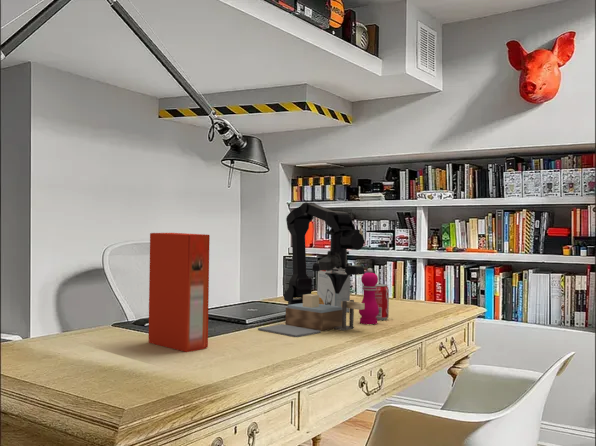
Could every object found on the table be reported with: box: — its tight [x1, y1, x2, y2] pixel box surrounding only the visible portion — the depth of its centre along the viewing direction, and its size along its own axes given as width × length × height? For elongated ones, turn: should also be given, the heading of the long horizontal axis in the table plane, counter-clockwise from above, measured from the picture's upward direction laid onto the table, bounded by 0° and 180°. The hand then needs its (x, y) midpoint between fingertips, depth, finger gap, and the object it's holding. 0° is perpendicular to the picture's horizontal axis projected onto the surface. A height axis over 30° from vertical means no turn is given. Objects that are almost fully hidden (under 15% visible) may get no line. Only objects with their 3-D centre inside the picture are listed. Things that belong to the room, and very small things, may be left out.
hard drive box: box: [316, 261, 351, 313], centre depth 255 cm, size 16×8×20 cm, turn 25°
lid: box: [286, 293, 342, 313], centre depth 215 cm, size 15×11×6 cm
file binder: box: [148, 232, 210, 353], centre depth 177 cm, size 8×17×32 cm, turn 48°
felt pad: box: [257, 323, 322, 338], centre depth 204 cm, size 17×12×1 cm
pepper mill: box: [358, 267, 379, 325], centre depth 224 cm, size 7×7×20 cm
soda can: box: [375, 283, 390, 321], centre depth 234 cm, size 7×7×13 cm
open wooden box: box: [284, 299, 355, 332], centre depth 214 cm, size 20×13×10 cm, turn 49°
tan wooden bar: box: [341, 301, 365, 311], centre depth 209 cm, size 8×2×2 cm, turn 49°
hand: (337, 293), depth 214 cm, fingers closed
